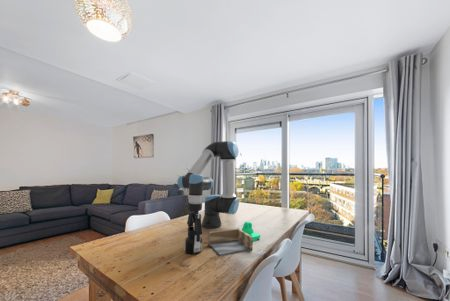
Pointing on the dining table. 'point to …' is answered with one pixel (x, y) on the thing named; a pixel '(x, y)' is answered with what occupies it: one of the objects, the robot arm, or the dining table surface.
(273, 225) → the dining table surface
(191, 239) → the ink bottle
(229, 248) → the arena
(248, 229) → the camera mount
